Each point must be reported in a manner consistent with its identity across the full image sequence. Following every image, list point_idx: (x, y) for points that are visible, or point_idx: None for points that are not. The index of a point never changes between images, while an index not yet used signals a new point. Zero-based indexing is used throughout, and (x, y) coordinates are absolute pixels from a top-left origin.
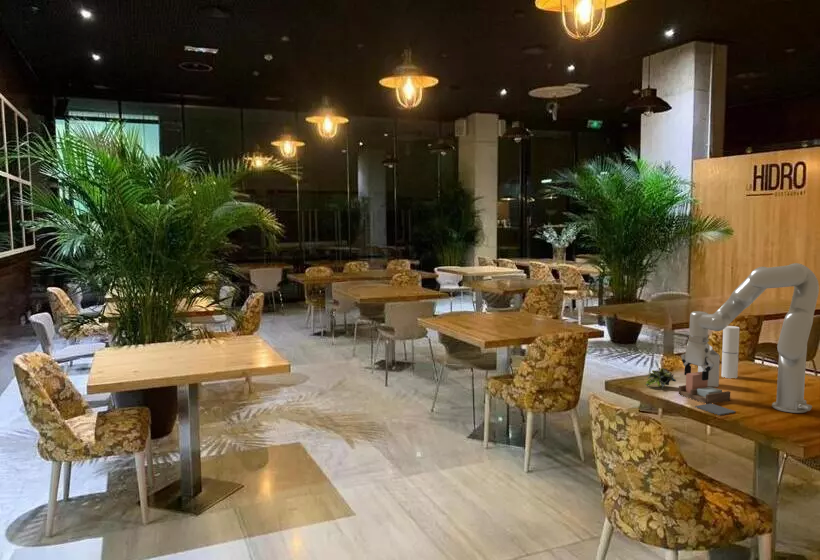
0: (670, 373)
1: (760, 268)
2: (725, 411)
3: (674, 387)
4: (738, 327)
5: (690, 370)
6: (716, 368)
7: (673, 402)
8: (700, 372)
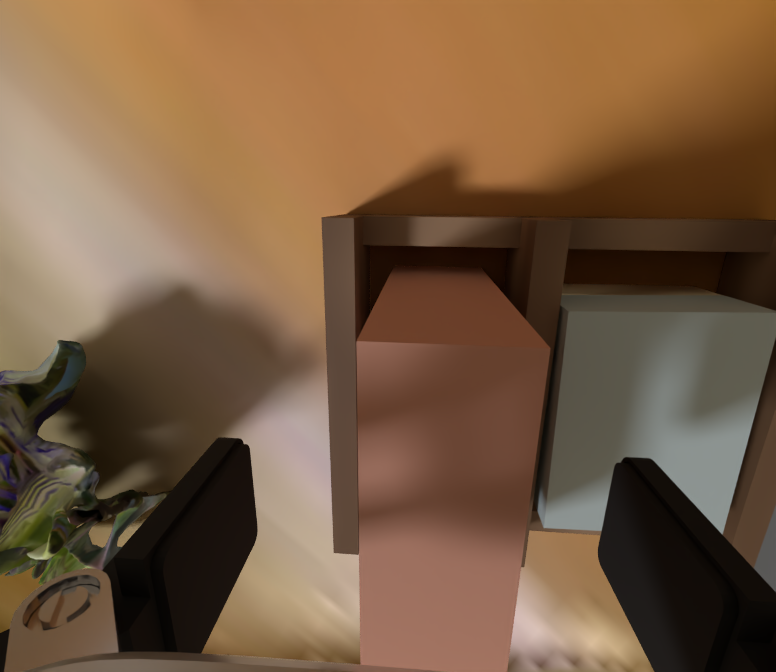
0: (54, 552)
1: None
2: None
3: (125, 328)
4: None
5: (216, 496)
6: None
7: None
8: (405, 424)
